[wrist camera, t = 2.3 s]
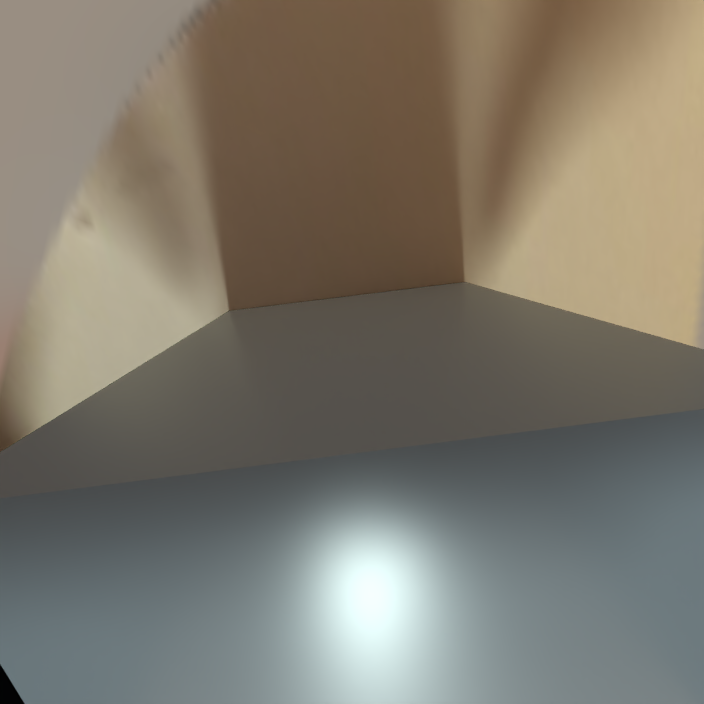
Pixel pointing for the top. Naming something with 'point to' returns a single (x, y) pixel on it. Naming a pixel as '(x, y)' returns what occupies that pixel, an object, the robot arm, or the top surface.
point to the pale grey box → (367, 514)
